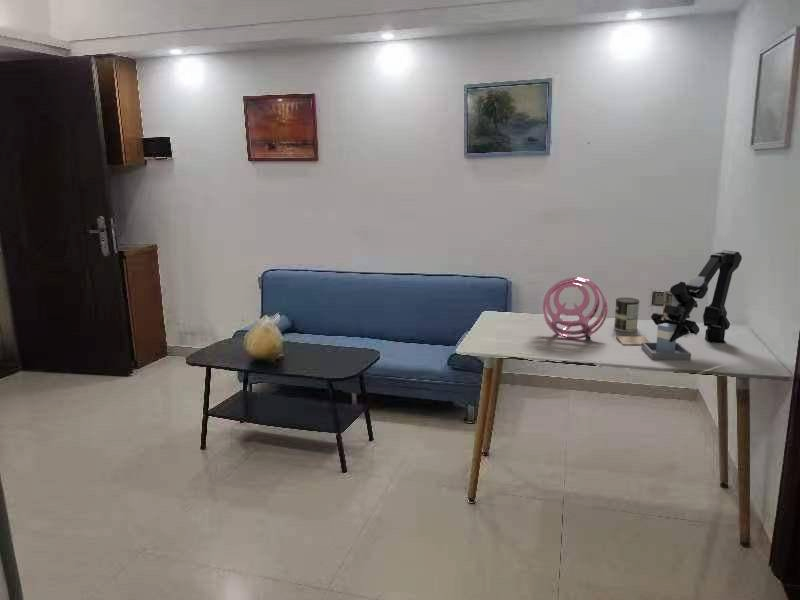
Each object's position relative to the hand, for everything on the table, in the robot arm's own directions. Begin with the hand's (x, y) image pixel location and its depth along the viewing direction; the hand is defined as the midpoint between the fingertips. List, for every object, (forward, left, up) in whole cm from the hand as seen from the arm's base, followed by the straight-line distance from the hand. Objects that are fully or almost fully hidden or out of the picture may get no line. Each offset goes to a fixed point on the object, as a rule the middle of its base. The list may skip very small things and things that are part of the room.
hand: (664, 339), depth 234 cm
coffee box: (-18, -47, -7) cm, 51 cm away
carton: (-1, -1, -6) cm, 6 cm away
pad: (+7, -18, -7) cm, 20 cm away
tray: (-1, -1, -7) cm, 7 cm away
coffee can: (+5, -40, -7) cm, 41 cm away
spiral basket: (+32, -26, -7) cm, 42 cm away
